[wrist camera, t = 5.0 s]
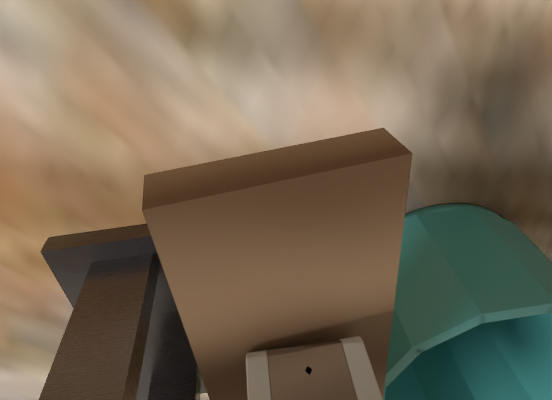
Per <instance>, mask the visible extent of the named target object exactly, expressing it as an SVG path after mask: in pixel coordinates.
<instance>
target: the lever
mask: <svg viewBox="0 0 552 400" xmlns="http://www.w3.org/2000/svg"><path fill="white" fill-rule="evenodd" d="M411 160H412V153H411V152H410V151H409V150H408V149H407V148H406V147H405V146H403V145H402V144H401V143H400V142H399V141H398V140H397V139H395V138H394V137H393V136H392V135H391V134H390V133H389V132H388V131H386V130H385V129H384V128H380V129H375V130H370V131H365V132H360V133H355V134H350V135H345V136H340V137H335V138H330V139H325V140H319V141H314V142H309V143H304V144H299V145H294V146H289V147H284V148H279V149H274V150H269V151H264V152H259V153H254V154H249V155H244V156H239V157H234V158H229V159H224V160H219V161H213V162H208V163H203V164H198V165H193V166H188V167H183V168H178V169H173V170H168V171H163V172H158V173H153V174H148V175H144V188H143V205H142V211H143V214H144V217H145V219H146V222H147V225H148V228H149V231H150V233H151V236H152V239H153V242H154V245H155V247H156V250H157V253H158V256H159V259H160V261H161V264H162V267H163V270H164V273H165V275H166V278H167V281H168V284H169V287H170V289H171V292H172V295H173V298H174V301H175V303H176V306H177V309H178V312H179V315H180V318H181V320H182V323H183V326H184V329H185V332H186V334H187V337H188V340H189V343H190V346H191V348H192V351H193V354H194V357H195V360H196V362H197V365H198V368H199V371H200V374H201V376H202V379H203V382H204V385H205V388H206V390H207V393H208V396H209V399H210V400H248V397H247V375H246V354H247V353H249V352H256V351H262V350H271V349H278V348H286V347H293V346H300V345H304V344H310V343H316V342H322V341H328V340H334V339H344V338H350V337H356V336H360V337H361V339H362V340H363V342H364V345H365V348H366V351H367V354H368V357H369V360H370V363H371V366H372V369H373V372H374V375H375V378H376V381H377V384H378V387H379V390H380V393H381V396H382V399H383V394H384V386H385V377H386V369H387V360H388V352H389V344H390V335H391V327H392V319H393V310H394V302H395V294H396V285H397V277H398V269H399V260H400V252H401V244H402V235H403V227H404V219H405V210H406V202H407V194H408V185H409V177H410V168H411Z"/></svg>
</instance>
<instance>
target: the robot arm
mask: <svg viewBox="0 0 552 400" xmlns="http://www.w3.org/2000/svg"><path fill="white" fill-rule="evenodd" d="M246 375H247V397H248V400H383V399H382V396H381V393H380V390H379V387H378V384H377V381H376V378H375V375H374V372H373V369H372V366H371V363H370V360H369V357H368V354H367V351H366V348H365V345H364V342H363V340H362V339H361V337H360V336H356V337H350V338H344V339H334V340H328V341H322V342H316V343H310V344H304V345H300V346H293V347H286V348H278V349H271V350H262V351H256V352H249V353H247V354H246Z"/></svg>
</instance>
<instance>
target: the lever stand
mask: <svg viewBox="0 0 552 400" xmlns="http://www.w3.org/2000/svg"><path fill="white" fill-rule="evenodd" d="M41 253H42V255H43V257H44V259H45V260H46V262H47V264H48V265H49V267H50V269H51V270H52V272H53V274H54V276H55V277H56V279H57V281H58V282H59V284H60V286H61V288H62V289H63V291H64V293H65V294H66V296H67V298H68V300H69V301H70V303H71V305H72V306H73V308H74V309H73V312H72V314H71V317H70V320H69V322H68V325H67V327H66V330H65V333H64V335H63V338H62V340H61V343H60V346H59V348H58V351H57V354H56V356H55V359H54V361H53V364H52V367H51V369H50V372H49V374H48V377H47V380H46V382H45V385H44V387H43V390H42V393H41V395H40V398H39V400H200V394H201V393H207V390H206V388H205V385H204V382H203V379H202V376H201V374H200V371H199V368H198V365H197V362H196V360H195V357H194V354H193V351H192V348H191V346H190V343H189V340H188V337H187V334H186V332H185V329H184V326H183V323H182V320H181V318H180V315H179V312H178V309H177V306H176V303H175V301H174V298H173V295H172V292H171V289H170V287H169V284H168V281H167V278H166V275H165V273H164V270H163V267H162V264H161V261H160V259H159V256H158V253H157V250H156V247H155V245H154V242H153V239H152V236H151V233H150V231H149V228H148V225H147V224H144V225H137V226H130V227H123V228H116V229H108V230H101V231H94V232H87V233H80V234H73V235H66V236H59V237H51V238H48V239H47V241H46V242H45V244H44V246H43V248H42V250H41Z"/></svg>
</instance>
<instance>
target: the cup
mask: <svg viewBox="0 0 552 400" xmlns="http://www.w3.org/2000/svg"><path fill="white" fill-rule="evenodd" d="M383 400H552V262H551V261H550V260H549V259H548V258H547V257H546V256H545V255H544V254H543V253H542V252H541V250H540V249H539V248H538V247H537V246H536V245H535V244H534V243H533V242H532V241H531V240H530V239H529V238H528V237H527V236H526V235H525V234H524V233H523V232H522V231H521V230H520V229H519V228H518V227H517V226H516V225H515V224H514V223H513V222H510V221H508V220H505V219H504V218H503V217H502V216H500V215H499V214H497V213H496V212H494V211H492V210H489V209H487V208H484V207H481V206H477V205H471V204H458V203H451V204H440V205H434V206H429V207H425V208H421V209H418V210H415V211H412V212H409V213H407V214H405V219H404V227H403V235H402V244H401V252H400V260H399V269H398V277H397V285H396V294H395V302H394V310H393V319H392V327H391V335H390V344H389V352H388V360H387V369H386V377H385V386H384V394H383Z"/></svg>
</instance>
